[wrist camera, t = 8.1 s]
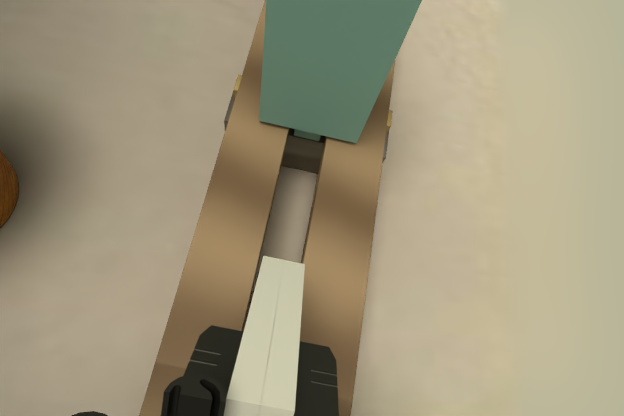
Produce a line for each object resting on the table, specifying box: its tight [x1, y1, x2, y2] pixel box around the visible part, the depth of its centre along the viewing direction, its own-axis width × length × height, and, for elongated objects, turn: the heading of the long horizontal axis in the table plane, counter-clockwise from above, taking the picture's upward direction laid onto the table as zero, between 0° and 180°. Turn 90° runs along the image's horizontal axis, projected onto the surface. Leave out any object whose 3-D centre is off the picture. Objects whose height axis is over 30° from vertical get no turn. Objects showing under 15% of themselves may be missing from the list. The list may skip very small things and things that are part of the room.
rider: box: [259, 0, 422, 143], centre depth 18 cm, size 5×5×13 cm
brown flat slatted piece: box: [139, 0, 395, 416], centre depth 25 cm, size 32×9×5 cm, turn 170°
